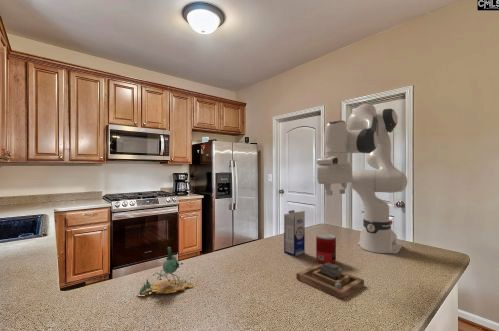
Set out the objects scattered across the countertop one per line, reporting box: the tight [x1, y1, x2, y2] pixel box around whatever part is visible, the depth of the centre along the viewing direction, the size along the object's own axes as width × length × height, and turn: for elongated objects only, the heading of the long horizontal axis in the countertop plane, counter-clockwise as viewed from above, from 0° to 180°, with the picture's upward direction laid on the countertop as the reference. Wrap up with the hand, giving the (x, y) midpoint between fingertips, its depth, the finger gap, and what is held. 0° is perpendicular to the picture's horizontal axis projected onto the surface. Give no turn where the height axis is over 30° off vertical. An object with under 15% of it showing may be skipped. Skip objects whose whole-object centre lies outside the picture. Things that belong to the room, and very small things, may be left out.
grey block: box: [320, 262, 343, 281], centre depth 87 cm, size 4×6×6 cm, turn 39°
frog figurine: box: [137, 246, 195, 296], centre depth 81 cm, size 10×18×15 cm, turn 105°
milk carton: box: [283, 209, 306, 258], centre depth 115 cm, size 7×7×20 cm
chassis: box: [295, 263, 365, 300], centre depth 86 cm, size 14×18×3 cm
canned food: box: [315, 232, 337, 265], centre depth 105 cm, size 8×8×11 cm
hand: (336, 194), depth 100 cm, fingers open, 8 cm apart
